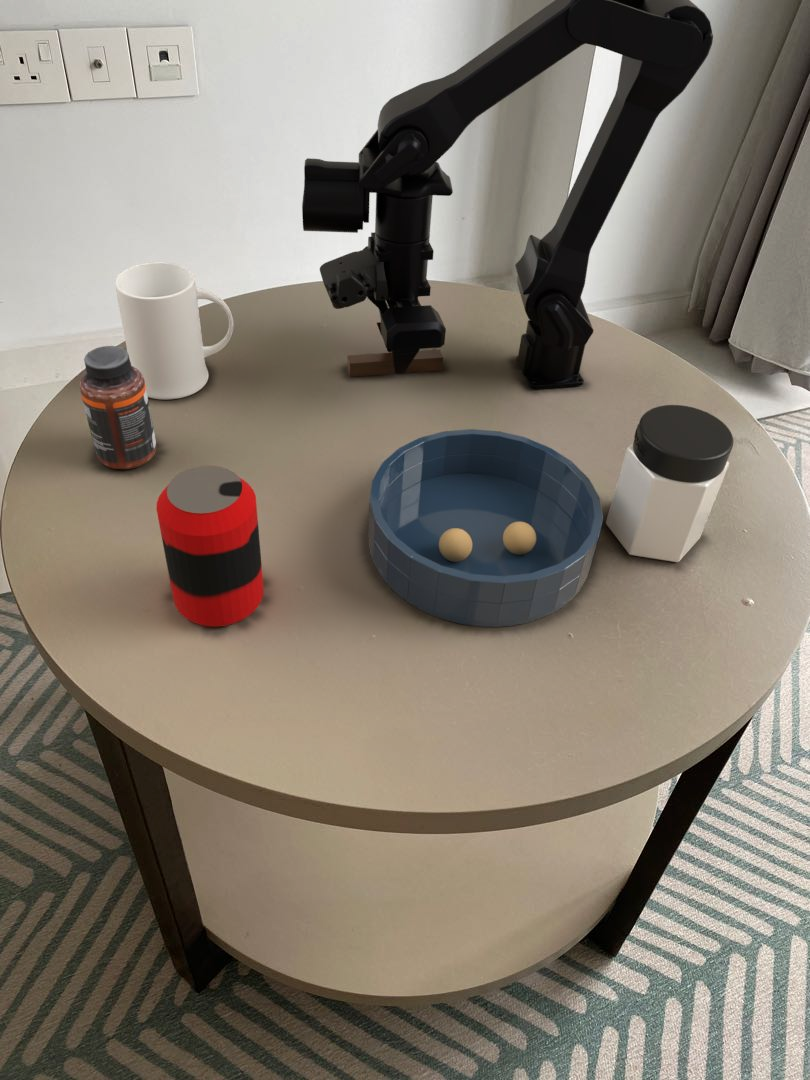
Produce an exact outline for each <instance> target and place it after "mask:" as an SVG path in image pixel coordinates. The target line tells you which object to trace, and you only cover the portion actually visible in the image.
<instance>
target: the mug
mask: <svg viewBox="0 0 810 1080" xmlns="http://www.w3.org/2000/svg"><path fill="white" fill-rule="evenodd" d="M114 289H115V293H116V299H117V304H118V309H119V314H120V320H121V325H122V330H123V336H124V342H125V347H126V351H127V352H128V354H129V359H130V362H131V366H133V367H135V368H137V369H138V370H139V371H140V372H141V374H142V375H143V378H144V381H145V386H146V391H147V396H148V399H149V398H150V399H154V400H164V401H165V400H177V399H183V398H186V397H189V396H191V395H194V394H195V393H197V392H199V391H201V389H203V388H204V387H205V386H206V384H207V383H208V381H209V378H210V377H209V374H210V373H209V370H208V368H207V365H206V358H207V357H210V356H214V355H215V354H217V353H219V352H220V351H221V350H224V348H225V347H226V346H227V345H228V343H229V342H230V340H231V338H232V336H233V333H234V327H235V325H234V317H233V314H232V311H231V309H230V307H229V306H228V304H227V303H226V302H225V301H224V300H223V299H222V298H221V297H220V296H218V294H216V293H214V292H212V291H210V290H207V289H204V288H201V287H198V286H197V285H196V278H195V275H194V273H193V272H192V271H191V270H190V269H189V268H187V267H185V266H182V265H180V264H177V263H171V262H162V261H161V262H160V261H157V262H156V261H154V262H146V263H145V262H144V263H140V264H136V265H133V266H132V265H131V266H130V267H128V268H126V269H124V270H122V271H120V272H119V274H117V275H116V276H115V279H114ZM199 300H207V301H210V302H213V303H215V304H216V305H218V306H219V307H220V308H221V309H222V310H223V311H224V312H225V314H226V316H227V319H228V329H227V332H226V334H225V336H224V337H223V338H222V339H221V340H220V341H219V342H216V343H215V344H213V345H208V346H207V345H205V346H204V344H203V335H202V327H201V320H200V318H201V317H200V311H199V302H198V301H199Z"/></svg>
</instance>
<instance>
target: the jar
mask: <svg viewBox="0 0 810 1080" xmlns="http://www.w3.org/2000/svg"><path fill="white" fill-rule="evenodd" d="M633 437H634V439H633V442H632V443H631V444H630V445H628V447H627V448H626V451H625V454H624V457H623V461H622V465H621V467H620V472H619V475H618V479H617V482H616V485H615V490H614V492H613V497H612V500H611V503H610V506H609V510H608V513H607V517H606V520H605V525H606V526H607V527H608V529H609V530H610V531H611V533H612V534H613V535H614V536H615V538H616V539H617V540H618V542H619V543H620V544H621V546H622V547H623V549H624V550H625V551H626V553H627V554H628V555H630V556H634V557H643V558H648V559H652V560H653V559H654V560H660V561H666V562H671V563H679V562H680V561H681V560H682V559H683V558H684V557H685V555H687V553H688V552H689V551H690V550H691V549H692V548H693V547H694V545H696V544H697V543H698V541H699V540H700V538H701V537H702V534H703V531H704V530H705V527H706V524H707V521H708V519H709V517H710V514H711V511H712V510H713V506H714V504H715V501H716V498H717V496H718V493H719V491H720V489H721V486H722V484H723V482H724V478H725V476H726V473H727V471H728V469H729V466H730V462H729V461H728V460H729V457H730V455H731V452H732V450H733V447H734V436H733V434H732V431H731V430H730V428H729V427H728V426H727V425H726V424H725V423H724V422H723V421H722V420H721V419H720V418H719V417H717V416H715V415H713V414H711V413H709V412H707V411H705V410H702V409H699V408H696V407H694V406H693V407H692V406H688V405H680V404H666V405H665V404H664V405H659V406H655V407H652V408H651V409H649V410H647V411H646V412H645V413H643V414H642V416H641V417H640V419H639V422H638V423H637V426H636V428H635V431H634V436H633Z"/></svg>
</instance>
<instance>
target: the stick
mask: <svg viewBox="0 0 810 1080" xmlns="http://www.w3.org/2000/svg"><path fill="white" fill-rule="evenodd" d="M346 359H347V360H346V361H347V365H346V368H347V373H348V375H349V377H350V378H353V377H367V376H382V375H397V374H396V373H395V371H394V365H393V358H392V352H380V353H379V352H378V353H361V354H347V358H346ZM443 366H444V355H443V353H442V351H441V349H439V348H437V349H422V350H419V352H418V353H417V355H416V356H415V358H414V359H413V361H412V362H411V364H410V365H409V367H408V368H407V370H406V371H405V373H404V374H410V373H425V372H427V373H428V372H441V371H443Z"/></svg>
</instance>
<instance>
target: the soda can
mask: <svg viewBox="0 0 810 1080" xmlns="http://www.w3.org/2000/svg"><path fill="white" fill-rule="evenodd" d="M155 509H156V515H157V520H158V524H159V530H160V535H161V542H162V547H163V552H164V555H165V556H164V557H165V562H166V567H167V571H168V577H169V578H168V579H169V583H170V587H171V588H170V589H171V593H172V599H173V603H174V606H175V608H176V609H177V611H178V613H179V614H180V615H181V616H182V617H183V618H185V619H186V620H188V621H190V622H192V623H195V624H196V625H199V626H200V625H201V626H206V627H215V628H216V627H217V628H218V627H225V626H230V625H233V624H236V623H238V622H240V621H242V620H244V619H246V618H247V617H249V616H250V615H251V614H252V613H254V612H255V611H256V610H257V608H258V607H259V606H260V604H261V602H262V600H263V598H264V592H265V591H264V577H263V566H262V565H263V564H262V555H261V544H260V532H259V530H260V529H259V519H258V507H257V496H256V493H255V490H254V489H253V487H252V486H251V485H250V484H249V483H248V482H246V480H245V479H243V478H242V477H240V476H239V475H238V474H236V473H235V472H234V471H233V470H230V469H228V468H227V467H223V466H218V465H197V466H193V467H191V468H187V469H185V470H183V471H181V472H179V473H178V474H176V475H175V476H174V477H173V478H172V479H171V480H170V481H169V483H168V484H167V486H166V487H165V488H164V489H163V490H162V491H161V493H160V494H159V496H158V498H157V501H156V508H155Z"/></svg>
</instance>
